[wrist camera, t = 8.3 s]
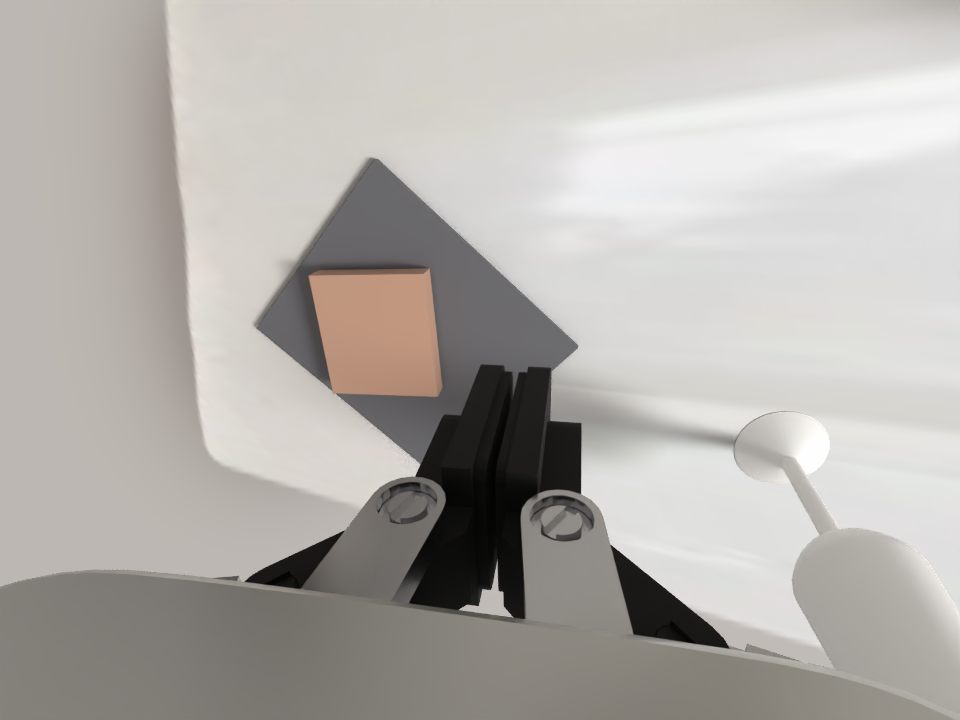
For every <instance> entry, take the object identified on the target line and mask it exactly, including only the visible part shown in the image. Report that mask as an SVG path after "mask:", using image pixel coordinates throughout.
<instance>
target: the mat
mask: <svg viewBox="0 0 960 720" xmlns="http://www.w3.org/2000/svg"><path fill="white" fill-rule="evenodd" d="M414 268H430V276H431V285H432V295H433V304H434V313H435V322H436V332H437V341H438V350H439V359H440V369H441V378H442V387H443V388H442V389H441V391H440V393H439V395H438V397H428V396H399V395H370V394H341V393H336V394H337V395H338V396H339V397H341V398H342V399H343V400H344V401H345V402H347V403H348V404H349V405H350V406H351V407H353V408H354V409H355V410H356V411H358V412H359V413H360V414H361V415H362V416H364V417H365V418H366V419H367V420H368V421H370V422H371V423H372V424H373V425H374V426H376V427H377V428H378V429H379V430H381V431H382V432H383V433H384V434H385V435H387V436H388V437H389V438H390V439H391V440H393V441H394V442H395V443H396V444H397V445H399V446H400V447H401V448H402V449H404V450H405V451H406V452H407V453H408V454H410V455H411V456H412V457H413V458H414V459H416V460H417V461H418V462H419V463H420V464H421V463H422V460H423V458H424V456H425V454H426V452H427V449H428V447H429V445H430V443H431V441H432V438H433V436H434V434H435V432H436V429H437V427H438V425H439V423H440V421H441V418H442V417H443V415H445V414H450V415H461V414H462V411H463V408H464V406H465V403H466V401H467V398H468V396H469V393H470V391H471V388H472V386H473V383H474V381H475V378H476V375H477V373H478V370H479V368H480V366H481V364H486V365H504V367H505V371H509V372H513V395H514V391H515V386H516V382H517V378H518V374H519V372H527V370H528V367H549V368H551V371H552V370H553V369H555V368H556V367H557V366H558V365H559V364H560V363H561V362H563V361H564V360H565V359H566V358H567V357H568V356H569V355H571V354H572V353H573V352H574V351H575V350H576V349H577V348H578V345H577V344H576V343H575V342H574V341H573V340H572V339H571V338H570V337H568V336H567V335H566V334H565V333H564V332H563V331H562V330H561V329H560V328H559V327H558V326H557V325H556V324H554V323H553V322H552V321H551V320H550V319H549V318H548V317H547V316H546V315H545V314H544V313H543V312H542V311H540V310H539V309H538V308H537V307H536V306H535V305H534V304H533V303H532V302H531V301H530V300H529V299H528V298H527V297H525V296H524V295H523V294H522V293H521V292H520V291H519V290H518V289H517V288H516V287H515V286H514V285H513V284H511V283H510V282H509V281H508V280H507V279H506V278H505V277H504V276H503V275H502V274H501V273H500V272H499V271H497V270H496V269H495V268H494V267H493V266H492V265H491V264H490V263H489V262H488V261H487V260H486V259H485V258H483V257H482V256H481V255H480V254H479V253H478V252H477V251H476V250H475V249H474V248H473V247H472V246H471V245H470V244H468V243H467V242H466V241H465V240H464V239H463V238H462V237H461V236H460V235H459V234H458V233H457V232H456V231H454V230H453V229H452V228H451V227H450V226H449V225H448V224H447V223H446V222H445V221H444V220H443V219H442V218H440V217H439V216H438V215H437V214H436V213H435V212H434V211H433V210H432V209H431V208H430V207H429V206H428V205H426V204H425V203H424V202H423V201H422V200H421V199H420V198H419V197H418V196H417V195H416V194H415V193H414V192H413V191H411V190H410V189H409V188H408V187H407V186H406V185H405V184H404V183H403V182H402V181H401V180H400V179H399V178H397V177H396V176H395V175H394V174H393V173H392V172H391V171H390V170H389V169H388V168H387V167H386V166H385V165H383V164H382V163H381V162H380V161H379V160H378V159H374V161H373V162H372V164H371V165H370V166H369V168H368V169H367V171H366V172H365V174H364V175H363V177H362V178H361V179H360V181H359V182H358V184H357V185H356V187H355V188H354V189H353V191H352V192H351V194H350V195H349V197H348V198H347V199H346V201H345V202H344V204H343V205H342V207H341V208H340V209H339V211H338V212H337V214H336V215H335V217H334V218H333V220H332V221H331V222H330V224H329V225H328V227H327V228H326V230H325V231H324V232H323V234H322V235H321V237H320V238H319V240H318V241H317V242H316V244H315V245H314V247H313V248H312V250H311V251H310V252H309V254H308V255H307V257H306V258H305V260H304V261H303V263H302V264H301V265H300V267H299V268H298V270H297V271H296V273H295V274H294V275H293V277H292V278H291V280H290V281H289V283H288V284H287V285H286V287H285V288H284V290H283V291H282V293H281V294H280V295H279V297H278V298H277V300H276V301H275V303H274V304H273V306H272V307H271V308H270V310H269V311H268V313H267V314H266V316H265V317H264V318H263V320H262V321H261V323H260V324H259V326H258V327H257V329H258V330H259V331H261V332H262V333H263V334H264V335H265V336H267V337H268V338H269V339H270V340H272V341H273V342H274V343H275V344H276V345H278V346H279V347H280V348H281V349H282V350H284V351H285V352H286V353H287V354H288V355H290V356H291V357H292V358H293V359H295V360H296V361H297V362H298V363H299V364H301V365H302V366H303V367H304V368H305V369H307V370H308V371H309V372H310V373H311V374H313V375H314V376H315V377H316V378H318V379H319V380H320V381H321V382H322V383H324V384H325V385H326V386H327V387H328V388H330V389H331V390H332V386H331V381H330V376H329V371H328V366H327V362H326V357H325V352H324V347H323V342H322V338H321V333H320V328H319V323H318V319H317V314H316V309H315V304H314V299H313V295H312V290H311V285H310V280H309V275H311V274H313V273H314V272H316V271H318V270H356V269H414ZM332 391H333V390H332Z"/></svg>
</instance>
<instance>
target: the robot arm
mask: <svg viewBox="0 0 960 720" xmlns="http://www.w3.org/2000/svg"><path fill="white" fill-rule="evenodd" d="M550 406H551V368H549V367H528V370H527V372H519V374H518V378H517V382H516V386H515V391H514V395H513V372H509V371H505V367H504V365H486V364H481V366H480V368H479V370H478V373H477V375H476V378H475V381H474V383H473V386H472V388H471V391H470V393H469V396H468V398H467V401H466V403H465V406H464V408H463V411H462V414H461V415H450V414H445V415H443V417H442V418H441V421H440V423H439V425H438V427H437V429H436V432H435V434H434V436H433V438H432V441H431V443H430V445H429V447H428V449H427V452H426V454H425V456H424V458H423V460H422V463H421V465H420V467H419V469H418V472H417V474H416V476H415V477H406V478H400V479H396V480H393V481H390V482H388V483H387V484H385V485H383V486H382V487H380V488H379V489H378V490H377V491H376V492H375V493H374V494H373V495H372V496H371V498H370V499H369V500H368V501H367V503H366V504H365V505H364V507H363V508H362V509H361V511H360V512H359V513H358V515H357V516H356V517H355V518H354V520H353V521H352V522H351V524H350V525H349V527H348V528H347V529H346V530H345V531H342V532H340V533H338V534H336V535H334V536H332V537H330V538H328V539H325V540H323V541H321V542H319V543H317V544H315V545H313V546H311V547H308V548H306V549H304V550H302V551H300V552H298V553H295V554H293V555H291V556H289V557H287V558H285V559H283V560H280V561H278V562H276V563H274V564H272V565H270V566H268V567H266V568H264V569H262V570H260V571H258V572H257V573H255V574H253V575H252V576H250V577H249V578H248V579H247V580H246V581H245V582H241V580H240V577H239V576H233V577H221V578H206V577H197V576H189V575H179V574H168V573H157V572H145V571H133V570H86V571H75V572H65V573H57V574H52V575H47V576H42V577H37V578H32V579H27V580H22V581H18V582H15V583H12V584H8V585H5V586H2V587H0V720H960V715H959V714H956V713H954V712H952V711H950V710H947V709H945V708H943V707H941V706H938V705H936V704H934V703H931V702H929V701H927V700H925V699H922V698H920V697H918V696H915V695H913V694H911V693H908V692H905V691H903V690H900V689H897V688H894V687H891V686H888V685H885V684H882V683H879V682H876V681H873V680H870V679H868V678H865V677H862V676H858V675H854V674H851V673H847V672H843V671H839V670H835V669H831V668H827V667H823V666H819V665H815V664H811V663H804V662H801V661H798V660H795V659H792V658H789V657H786V656H783V655H780V654H777V653H774V652H770V651H767V650H764V649H761V648H758V647H755V646H752V645H749V644H747V646H746V649H745V651H743V650H740V649H737V648H734V647H731V646H728V645H727V643H726V641H725V640H724V638H723V637H721V635H720V634H719V633H718V632H717V631H716V630H715V629H714V628H713V627H712V626H711V625H709V624H708V623H707V622H706V621H704V620H703V619H702V618H701V617H699V616H698V615H697V614H696V613H694V612H693V611H692V610H691V609H690V608H688V607H687V606H686V605H685V604H683V603H682V602H681V601H680V600H678V599H677V598H676V597H675V596H673V595H672V594H671V593H670V592H669V591H667V590H666V589H665V588H664V587H662V586H661V585H660V584H659V583H657V582H656V581H655V580H654V579H652V578H651V577H650V576H649V575H648V574H646V573H645V572H644V571H643V570H641V569H640V568H639V567H638V566H636V565H635V564H634V563H633V562H631V561H630V560H629V559H628V558H626V557H625V556H624V555H623V554H622V553H620V552H619V551H618V550H617V549H615V548H614V547H613V546H612V545H610V542H609V538H608V534H607V530H606V526H605V522H604V518H603V516H602V514H601V511H600V509H599V508H598V507H597V506H596V505H595V504H594V503H593V502H592V501H591V500H590V499H588V498H587V497H585V496H583V495H581V423H571V422H556V421H550ZM497 558H498V587H499V591H503V592H504V607H505V608H506V609H507V610H508V612H509V613H510V614H511V615H512V616H513V617H514V618H512V617H504V616H497V615H490V614H481V613H474V612H467V611H460V610H459V609H460V608H462V607H464V606H465V605H475V606H479V602H480V597H481V592H482V589H487V590H491V588H492V584H493V579H494V574H495V569H496V564H497Z"/></svg>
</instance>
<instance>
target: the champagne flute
mask: <svg viewBox="0 0 960 720" xmlns="http://www.w3.org/2000/svg"><path fill="white" fill-rule="evenodd" d="M829 447H830V444H829V437H828V434H827V431H826V430H825V429H824V427H823V426H822V425H821V424H820V423H819V422H818V421H817V420H815V419H813V418H812V417H810V416H808V415H805V414H802V413H797V412H776V413H771V414H768V415H764V416H762V417H760V418H758V419H756V420H754V421H753V422H751V423H750V424H748V425H747V426H746V427H745V428H744V429H743V430H742V431H741V433H740V434H739V436H738V438H737V440H736V443H735V448H734V455H735V459H736V462H737V464H738V466H739V467H740V468H741V470H742V471H743V472H745V473H746V474H747V475H748V476H750V477H752V478H754V479H756V480H759V481H761V482H766V483H775V484H781V483H789V482H790V483H791V484H792V486H793V488H794V490H795V492H796V493H797V495H798V497H799V499H800V501H801V502H802V504H803V506H804V508H805V509H806V511H807V513H808V515H809V517H810V518H811V520H812V522H813V524H814V526H815V527H816V529H817V531H818V533H819V534H820V536H818V537H817V538H815V539H813V540H812V541H811V542H810V543H809V544H807V546H806V547H805V548H804V549H803V550H802V552H801V554H800V556H799V557H798V559H797V562H796V564H795V567H794V571H793V576H792V585H793V593H794V596H795V598H796V600H797V603H798V604H799V606H800V608H801V610H802V611H803V613H804V615H805V617H806V618H807V620H808V622H809V624H810V626H811V627H812V629H813V631H814V633H815V634H816V636H817V638H818V640H819V641H820V643H821V645H822V647H823V649H824V650H825V652H826V654H827V656H828V657H829V659H830V661H831V662H832V664H833V666H834V668H835V670H839V671H843V672H847V673H851V674H854V675H858V676H862V677H865V678H868V679H870V680H873V681H876V682H879V683H882V684H885V685H888V686H891V687H894V688H897V689H900V690H903V691H905V692H908V693H911V694H913V695H915V696H918V697H920V698H922V699H925V700H927V701H929V702H931V703H934V704H936V705H938V706H941V707H943V708H945V709H947V710H950V711H952V712H954V713H956V714H959V715H960V613H959V611H958V609H957V608H956V606H955V605H954V603H953V601H952V600H951V598H950V596H949V595H948V593H947V591H946V590H945V588H944V587H943V585H942V583H941V582H940V580H939V578H938V577H937V575H936V574H935V572H934V570H933V569H932V567H931V566H930V564H929V563H928V561H927V560H926V559H925V558H924V557H923V556H922V555H921V554H920V553H919V552H917V551H916V550H915V549H914V548H913V547H911V546H909V545H908V544H906V543H904V542H902V541H900V540H898V539H896V538H893V537H891V536H888V535H885V534H882V533H879V532H875V531H871V530H866V529H860V528H847V529H840V528H839V527H838V525H837V523H836V522H835V520H834V518H833V517H832V515H831V514H830V512H829V510H828V509H827V507H826V505H825V504H824V502H823V501H822V499H821V497H820V496H819V494H818V493H817V491H816V489H815V488H814V486H813V484H812V483H811V481H810V480H809V478H808V475H810V474H811V473H813V472H814V471H815V470H817V469H818V468H819V467H820V466H821V465H822V463H823V462H824V461H825V459H826V457H827V455H828V452H829Z"/></svg>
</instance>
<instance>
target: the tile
mask: <svg viewBox="0 0 960 720" xmlns="http://www.w3.org/2000/svg"><path fill="white" fill-rule="evenodd" d="M309 280H310V285H311V290H312V295H313V299H314V304H315V309H316V314H317V319H318V323H319V328H320V333H321V338H322V342H323V347H324V352H325V357H326V362H327V366H328V371H329V376H330V381H331V386H332V390H333V393H341V394H370V395H399V396H428V397H438V395H439V393H440V391H441V389H442V388H443V387H442V378H441V369H440V359H439V350H438V341H437V332H436V322H435V313H434V304H433V295H432V285H431V276H430V268H414V269H356V270H318V271H316V272H314V273H313V274H311V275H309Z"/></svg>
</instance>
